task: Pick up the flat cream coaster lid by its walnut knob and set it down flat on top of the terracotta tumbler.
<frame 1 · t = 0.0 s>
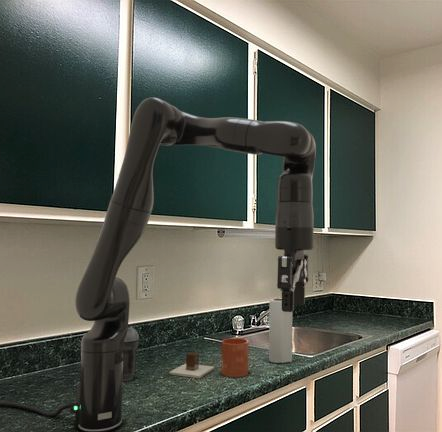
hand: (293, 308, 88), 29 cm above the worktop, tool pointing down, fingers open, 8 cm apart
coaster lid: (192, 371, 144), on the worktop
beverage cup: (125, 379, 136), on the worktop
tumbler: (234, 372, 143), on the worktop
paper towel roll: (278, 362, 157), on the worktop
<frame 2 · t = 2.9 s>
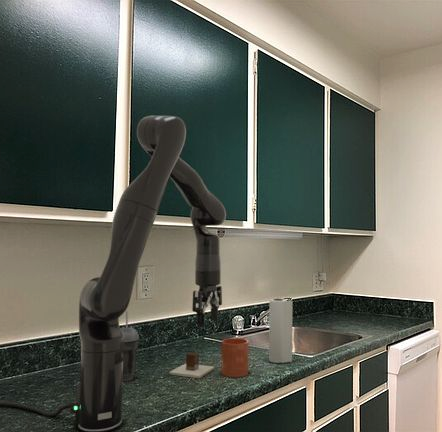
hand: (207, 323, 134), 17 cm above the worktop, tool pointing down, fingers open, 8 cm apart
nothing on the worktop moved.
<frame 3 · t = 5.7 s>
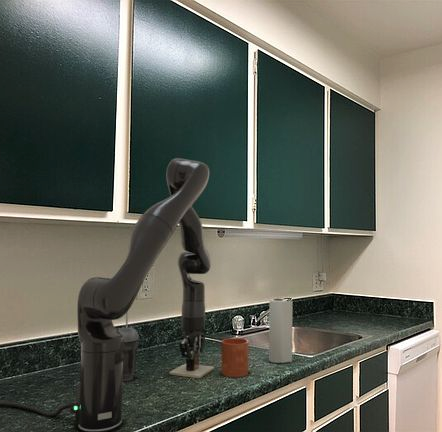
hand: (192, 368, 144), 1 cm above the worktop, tool pointing down, fingers closed on coaster lid, 3 cm apart
coaster lid: (192, 371, 144), on the worktop, touching gripper
everything else where it was.
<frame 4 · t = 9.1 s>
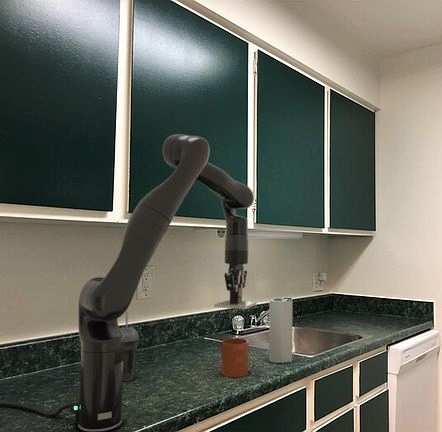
hand: (235, 302, 144), 22 cm above the worktop, tool pointing down, fingers closed on coaster lid, 3 cm apart
coaster lid: (235, 305, 144), point 21 cm above the worktop, touching gripper
everything else where it was.
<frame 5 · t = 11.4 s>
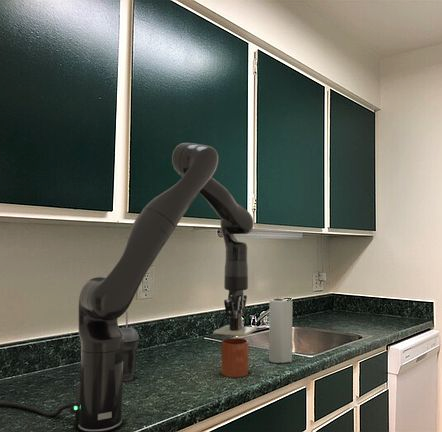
hand: (235, 328, 144), 14 cm above the worktop, tool pointing down, fingers closed on coaster lid, 3 cm apart
coaster lid: (235, 331, 143), point 13 cm above the worktop, touching gripper
everything else where it was.
when the fingers open (11 cm above the worktop, at t = 12.6 s): coaster lid stays where it is, resting on tumbler.
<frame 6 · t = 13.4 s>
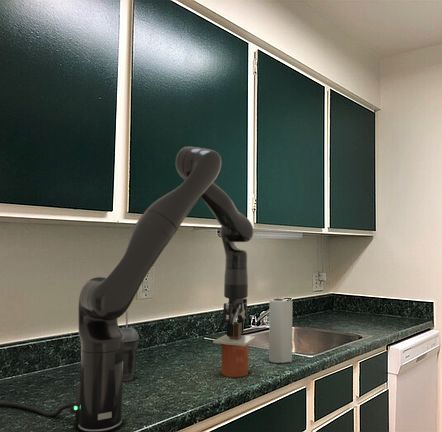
hand: (235, 333, 143), 12 cm above the worktop, tool pointing down, fingers open, 8 cm apart
coaster lid: (235, 341, 143), point 10 cm above the worktop, touching tumbler
tumbler: (234, 372, 143), on the worktop, touching coaster lid
everything else where it was.
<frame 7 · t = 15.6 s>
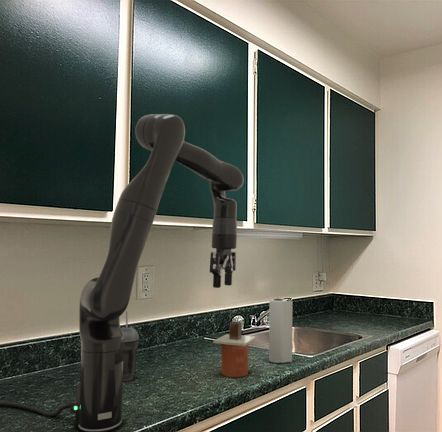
hand: (222, 286, 137), 28 cm above the worktop, tool pointing down, fingers open, 8 cm apart
nothing on the worktop moved.
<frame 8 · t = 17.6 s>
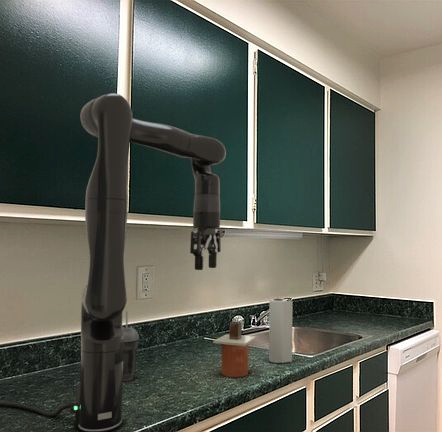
hand: (205, 268, 126), 34 cm above the worktop, tool pointing down, fingers open, 8 cm apart
nothing on the worktop moved.
at the end: coaster lid 0.0 cm off-centre on the tumbler, point 10.0 cm above the tumbler's base; coaster lid tilted 0°; tumbler tilted 0° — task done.
